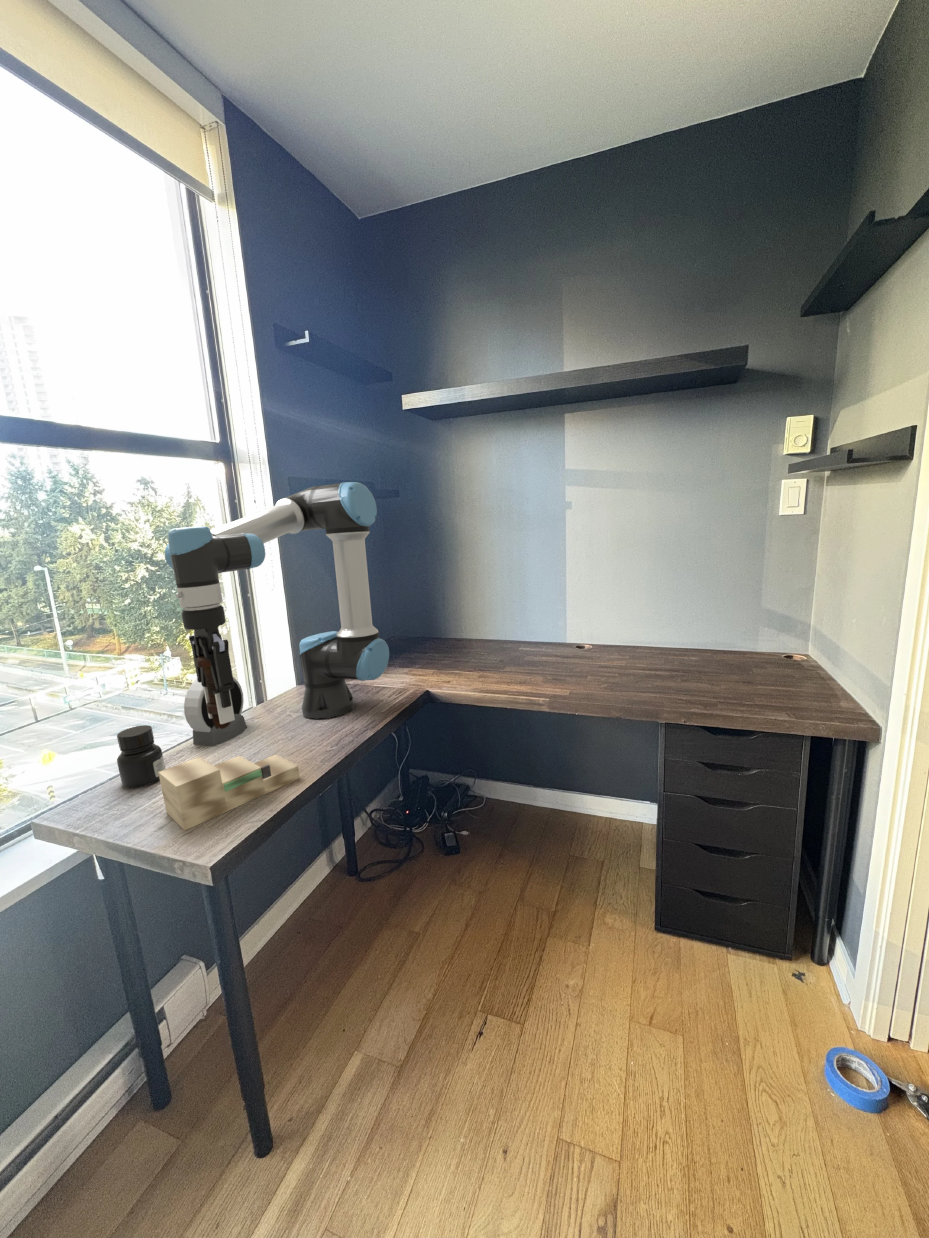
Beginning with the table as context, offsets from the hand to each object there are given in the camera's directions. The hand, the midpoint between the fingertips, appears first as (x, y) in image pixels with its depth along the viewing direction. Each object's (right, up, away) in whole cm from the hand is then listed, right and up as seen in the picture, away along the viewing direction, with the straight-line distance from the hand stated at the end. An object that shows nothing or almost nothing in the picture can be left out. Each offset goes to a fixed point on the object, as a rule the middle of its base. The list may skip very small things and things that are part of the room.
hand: (221, 718), depth 108 cm
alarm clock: (-17, -12, +37) cm, 43 cm away
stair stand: (+1, -17, +4) cm, 17 cm away
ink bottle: (-24, -17, +14) cm, 33 cm away
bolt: (0, -2, 0) cm, 2 cm away
